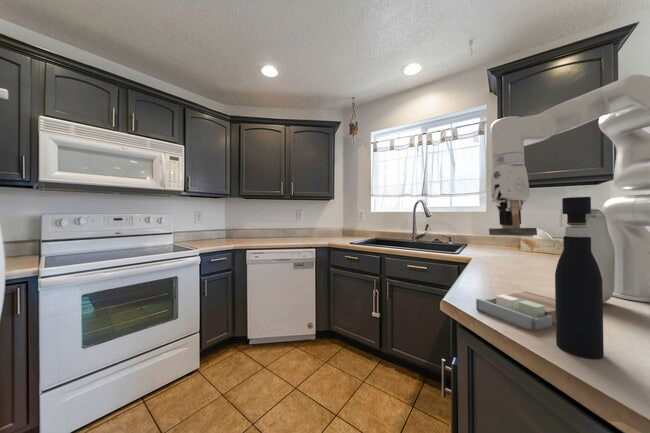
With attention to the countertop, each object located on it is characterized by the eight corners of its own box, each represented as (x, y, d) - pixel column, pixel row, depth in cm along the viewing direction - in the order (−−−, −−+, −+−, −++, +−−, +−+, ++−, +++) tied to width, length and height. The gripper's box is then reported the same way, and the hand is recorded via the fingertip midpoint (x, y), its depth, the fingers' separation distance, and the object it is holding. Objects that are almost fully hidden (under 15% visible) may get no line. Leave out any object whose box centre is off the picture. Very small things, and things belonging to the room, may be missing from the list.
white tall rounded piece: (568, 293, 79) (567, 208, 79) (617, 303, 70) (616, 207, 70) (560, 300, 73) (558, 208, 73) (612, 311, 65) (610, 207, 65)
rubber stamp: (537, 234, 65) (533, 198, 66) (530, 235, 64) (526, 198, 65) (496, 234, 76) (493, 202, 76) (489, 234, 75) (486, 202, 75)
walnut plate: (526, 301, 73) (525, 291, 73) (577, 316, 62) (577, 305, 62) (497, 306, 69) (497, 296, 69) (547, 324, 58) (547, 312, 58)
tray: (494, 305, 70) (494, 295, 70) (552, 326, 57) (552, 313, 57) (476, 309, 68) (476, 298, 68) (532, 331, 55) (532, 318, 55)
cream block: (503, 294, 67) (496, 295, 66) (519, 299, 63) (511, 300, 62) (504, 308, 67) (496, 310, 66) (519, 314, 63) (511, 315, 62)
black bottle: (614, 361, 44) (611, 195, 43) (572, 357, 45) (569, 196, 45) (584, 342, 50) (581, 197, 50) (548, 340, 51) (545, 199, 51)
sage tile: (526, 300, 62) (518, 301, 61) (544, 305, 58) (536, 307, 57) (526, 315, 62) (518, 317, 61) (545, 322, 58) (536, 324, 57)
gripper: (502, 157, 64) (504, 226, 64) (540, 159, 69) (543, 223, 70) (475, 163, 71) (478, 226, 71) (512, 165, 76) (514, 222, 77)
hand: (510, 224), depth 70 cm, fingers closed on rubber stamp, 3 cm apart
